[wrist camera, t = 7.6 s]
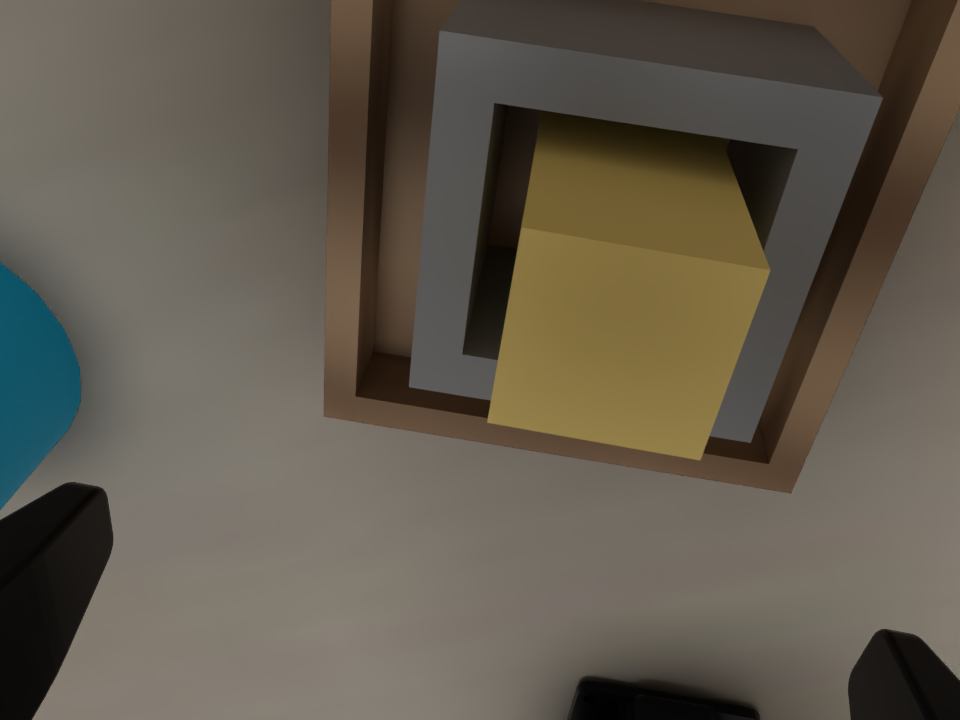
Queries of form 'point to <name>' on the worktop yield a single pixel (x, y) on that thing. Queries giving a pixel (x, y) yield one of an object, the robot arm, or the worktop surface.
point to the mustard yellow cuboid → (627, 287)
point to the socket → (641, 101)
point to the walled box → (401, 199)
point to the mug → (31, 382)
